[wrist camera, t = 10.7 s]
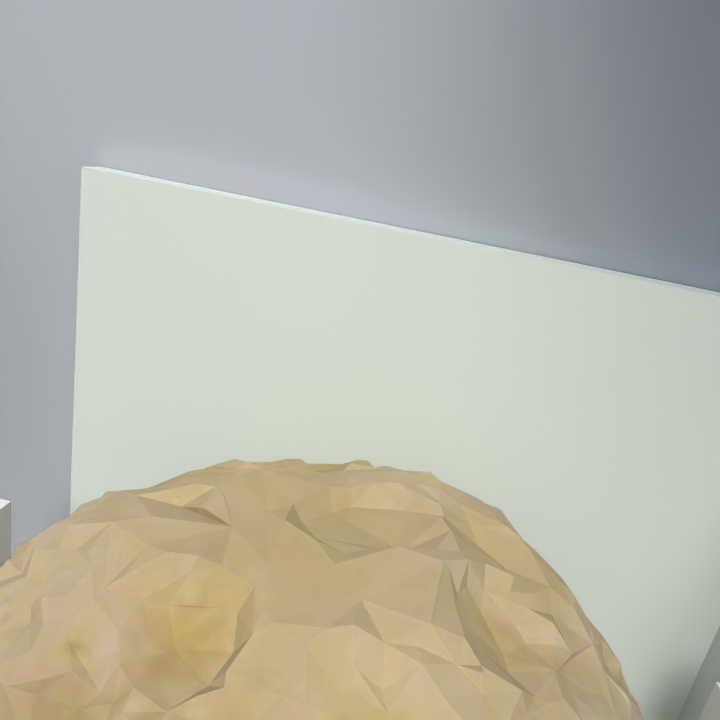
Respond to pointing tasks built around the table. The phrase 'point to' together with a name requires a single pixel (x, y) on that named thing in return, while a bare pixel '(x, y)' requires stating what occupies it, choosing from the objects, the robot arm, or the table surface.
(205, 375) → the mat
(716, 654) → the case
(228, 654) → the coral
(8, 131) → the table surface
